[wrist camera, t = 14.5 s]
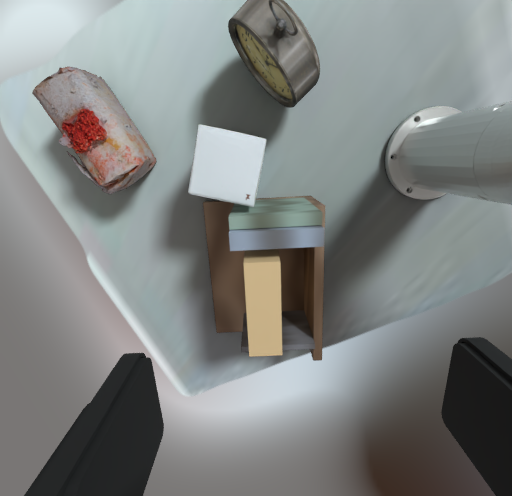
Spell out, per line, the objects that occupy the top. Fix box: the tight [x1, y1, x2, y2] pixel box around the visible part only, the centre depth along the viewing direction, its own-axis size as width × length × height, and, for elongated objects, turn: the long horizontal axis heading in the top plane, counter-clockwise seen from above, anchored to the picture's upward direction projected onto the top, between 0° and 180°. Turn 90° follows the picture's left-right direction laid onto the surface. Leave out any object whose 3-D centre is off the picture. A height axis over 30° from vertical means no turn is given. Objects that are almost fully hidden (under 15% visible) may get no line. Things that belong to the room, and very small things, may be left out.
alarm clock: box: [228, 0, 320, 107], centre depth 30 cm, size 11×5×16 cm, turn 43°
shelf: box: [203, 196, 325, 360], centre depth 40 cm, size 16×22×14 cm
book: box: [243, 249, 282, 357], centre depth 39 cm, size 4×12×13 cm, turn 3°
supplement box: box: [188, 124, 266, 207], centre depth 36 cm, size 7×7×13 cm
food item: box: [33, 67, 156, 194], centre depth 36 cm, size 14×8×10 cm, turn 31°
